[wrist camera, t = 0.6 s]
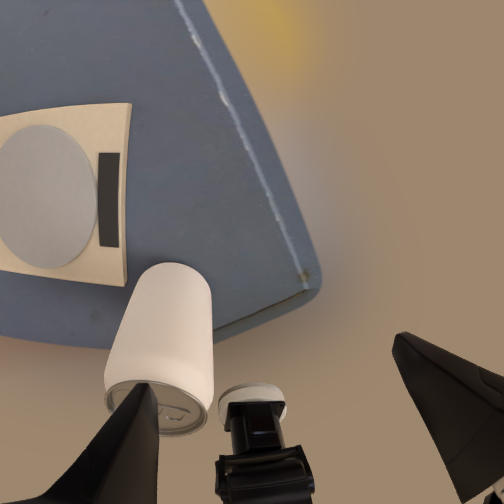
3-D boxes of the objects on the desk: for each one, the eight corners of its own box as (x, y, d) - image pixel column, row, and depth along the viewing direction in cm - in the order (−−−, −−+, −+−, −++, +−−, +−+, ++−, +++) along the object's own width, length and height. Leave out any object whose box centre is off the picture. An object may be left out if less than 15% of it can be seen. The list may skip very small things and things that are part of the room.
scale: (127, 279, 22) (122, 291, 21) (6, 264, 20) (-4, 272, 18) (132, 104, 17) (125, 102, 15) (-5, 118, 14) (-17, 120, 13)
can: (151, 246, 21) (106, 357, 11) (224, 279, 23) (237, 399, 13) (128, 307, 23) (91, 418, 13) (193, 333, 25) (190, 448, 15)
